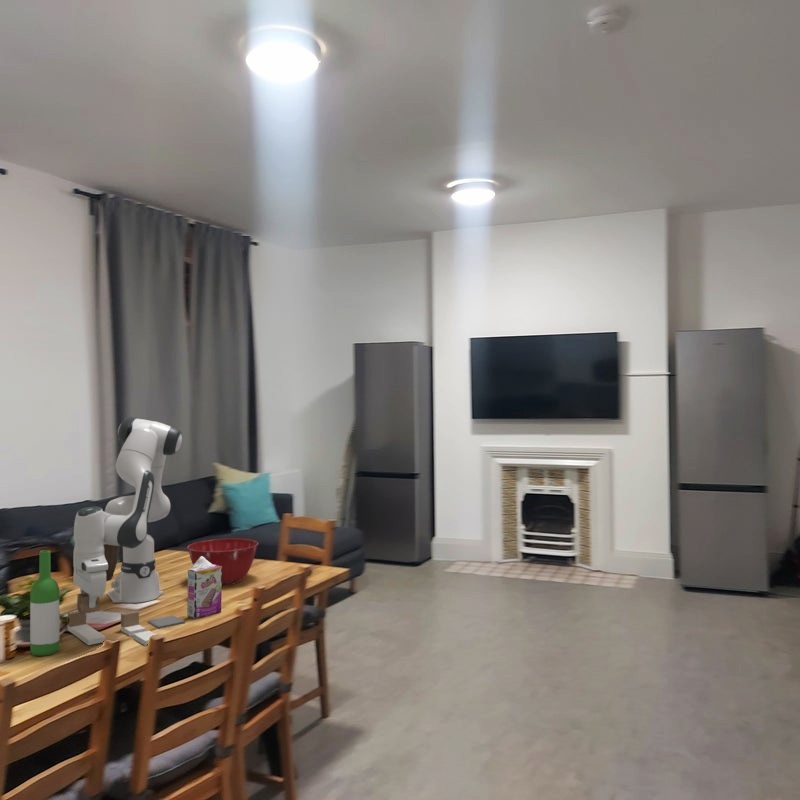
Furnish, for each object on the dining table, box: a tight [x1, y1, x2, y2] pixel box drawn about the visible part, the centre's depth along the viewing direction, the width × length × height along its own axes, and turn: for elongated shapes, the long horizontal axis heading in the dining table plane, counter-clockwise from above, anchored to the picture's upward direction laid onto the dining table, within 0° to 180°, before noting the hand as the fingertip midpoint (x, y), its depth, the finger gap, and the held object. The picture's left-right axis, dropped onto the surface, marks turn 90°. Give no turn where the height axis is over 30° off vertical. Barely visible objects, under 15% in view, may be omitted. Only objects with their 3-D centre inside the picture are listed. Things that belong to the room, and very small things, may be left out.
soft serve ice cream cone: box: [190, 556, 212, 569], centre depth 275 cm, size 8×8×16 cm
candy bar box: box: [186, 565, 223, 620], centre depth 254 cm, size 11×5×16 cm, turn 141°
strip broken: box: [120, 610, 157, 647], centre depth 231 cm, size 20×5×6 cm, turn 41°
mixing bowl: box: [186, 538, 259, 586], centre depth 300 cm, size 28×28×16 cm
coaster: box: [147, 615, 186, 629], centre depth 245 cm, size 9×9×1 cm
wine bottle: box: [29, 549, 60, 657], centre depth 216 cm, size 8×8×30 cm
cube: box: [76, 593, 100, 615], centre depth 226 cm, size 5×5×5 cm
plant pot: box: [104, 544, 121, 582], centre depth 304 cm, size 15×15×16 cm
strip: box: [67, 610, 106, 646], centre depth 230 cm, size 20×5×6 cm, turn 41°
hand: (88, 604), depth 226 cm, fingers closed on cube, 5 cm apart
